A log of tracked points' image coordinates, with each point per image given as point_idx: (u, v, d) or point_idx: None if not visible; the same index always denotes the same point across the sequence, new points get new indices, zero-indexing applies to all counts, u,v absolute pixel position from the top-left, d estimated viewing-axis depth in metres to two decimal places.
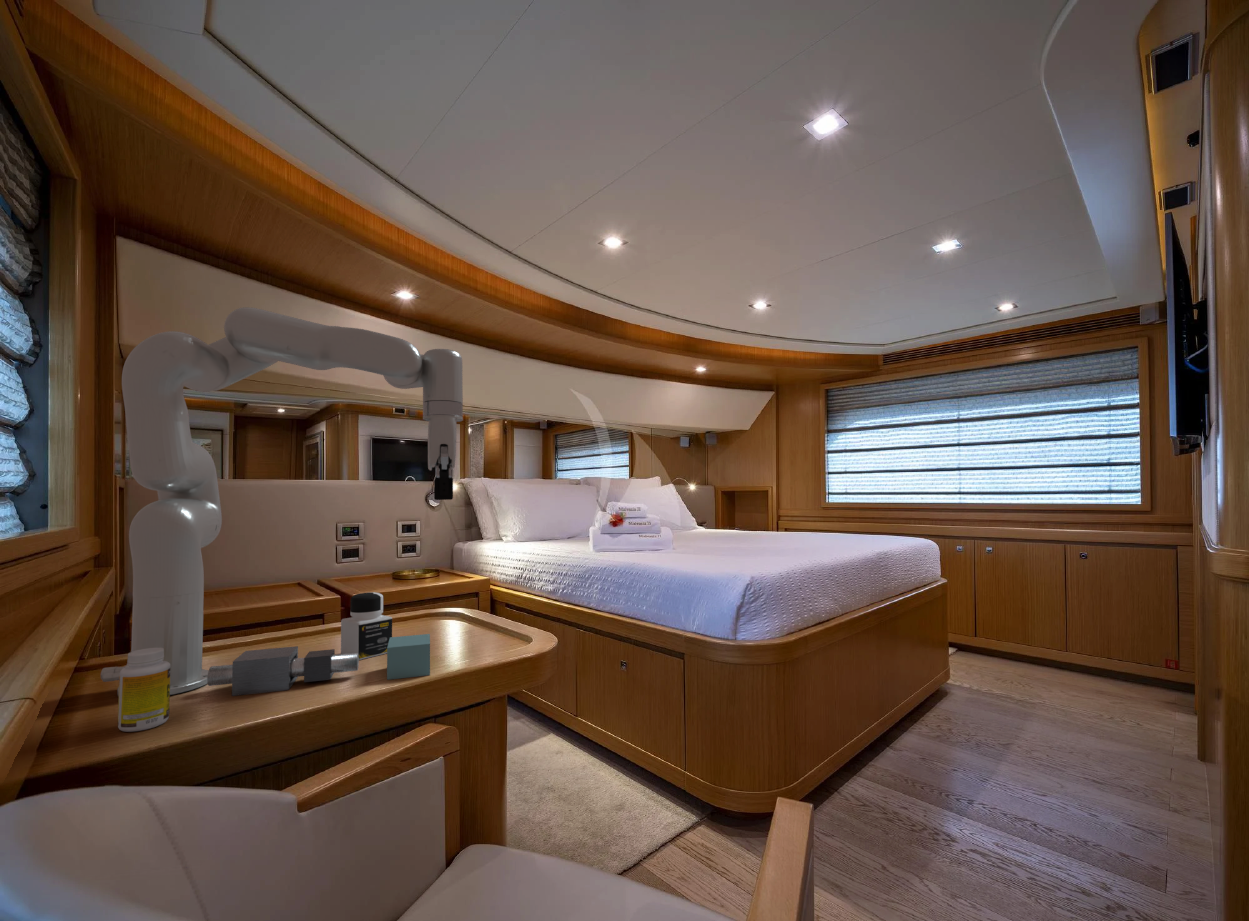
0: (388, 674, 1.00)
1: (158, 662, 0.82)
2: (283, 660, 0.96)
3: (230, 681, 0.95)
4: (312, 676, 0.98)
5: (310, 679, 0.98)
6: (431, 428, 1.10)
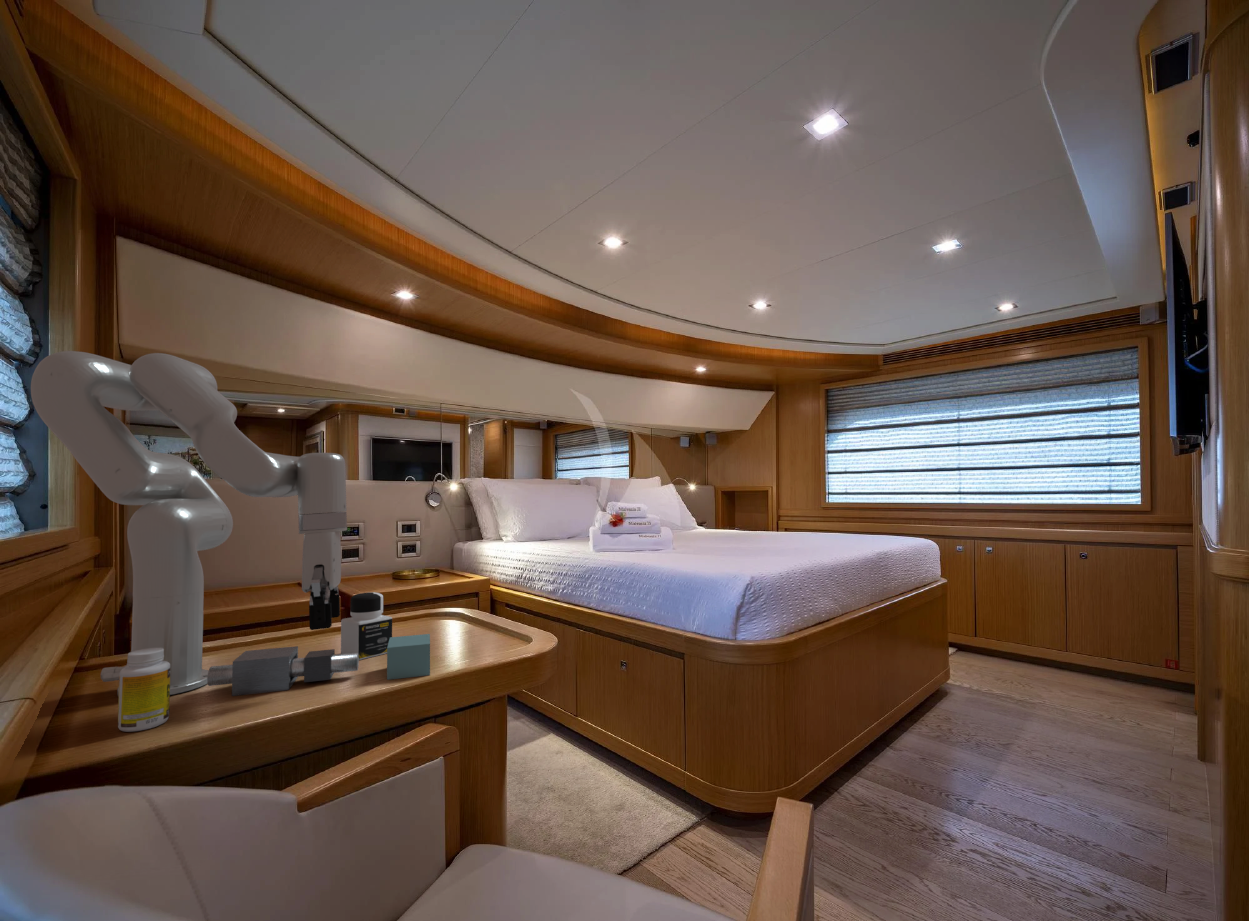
0: (388, 674, 1.00)
1: (158, 661, 0.82)
2: (283, 660, 0.96)
3: (230, 681, 0.95)
4: (312, 676, 0.98)
5: (310, 679, 0.98)
6: (304, 547, 0.97)
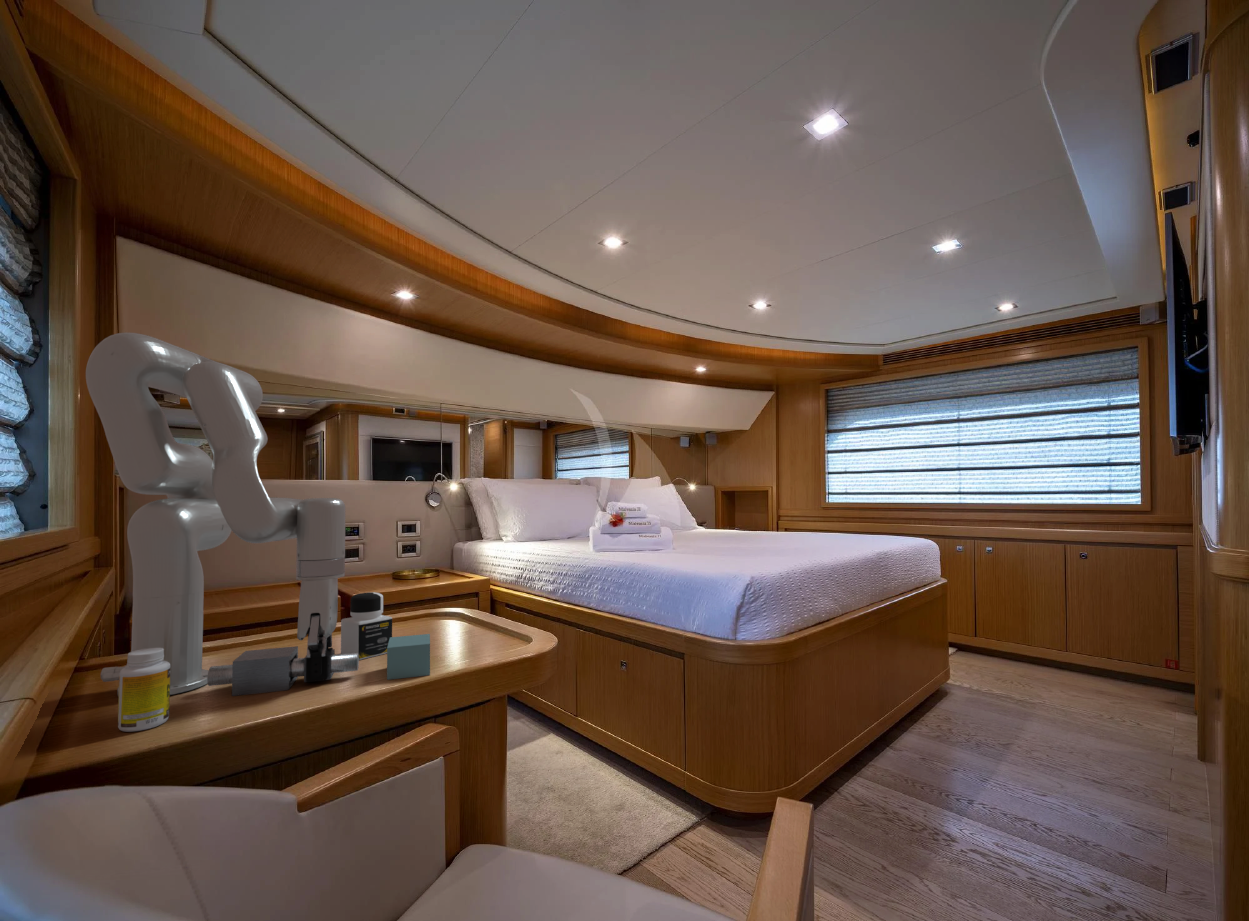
0: (388, 674, 1.00)
1: (158, 661, 0.82)
2: (283, 660, 0.96)
3: (230, 681, 0.95)
4: None
5: None
6: (301, 595, 0.96)
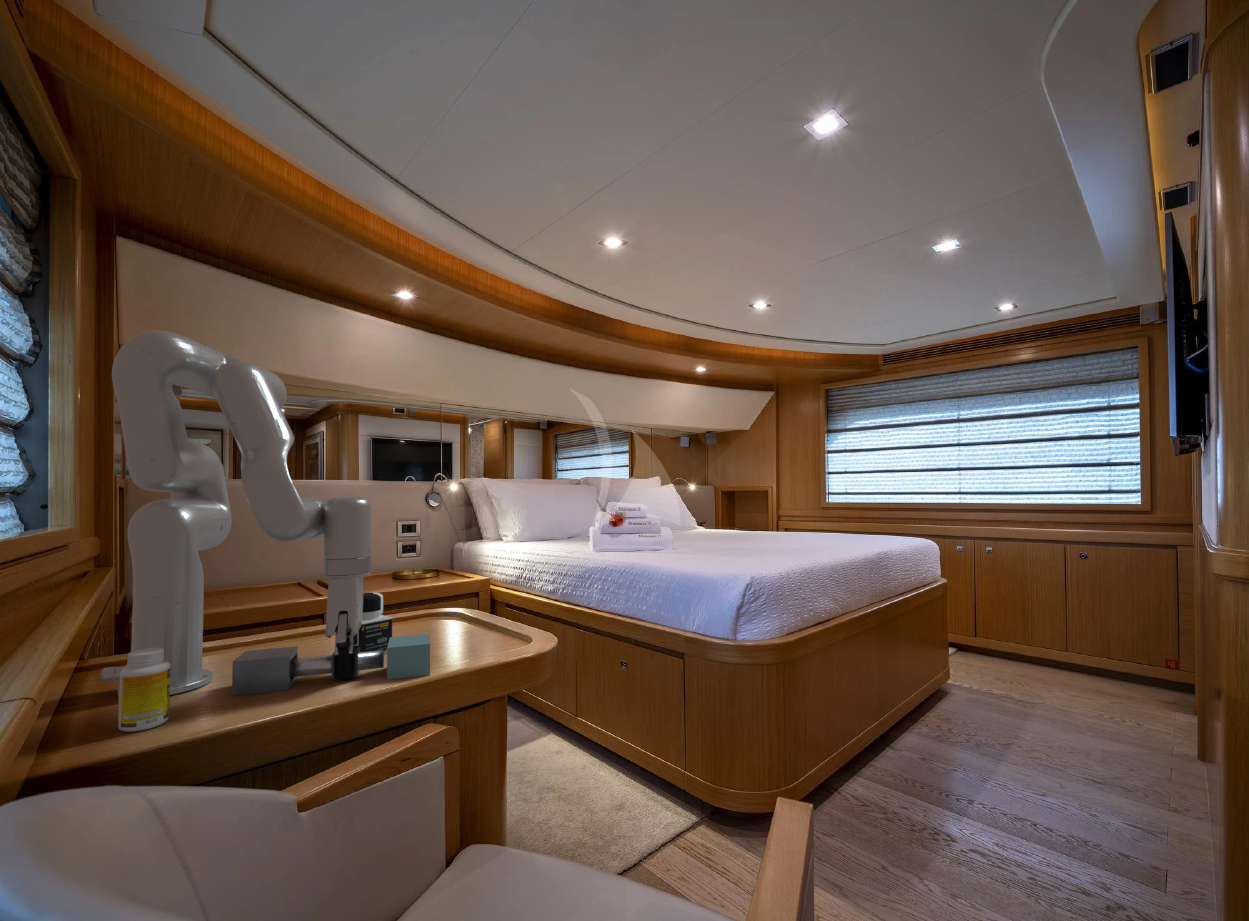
0: (388, 674, 1.00)
1: (158, 662, 0.82)
2: (283, 660, 0.96)
3: None
4: None
5: None
6: (329, 593, 0.97)
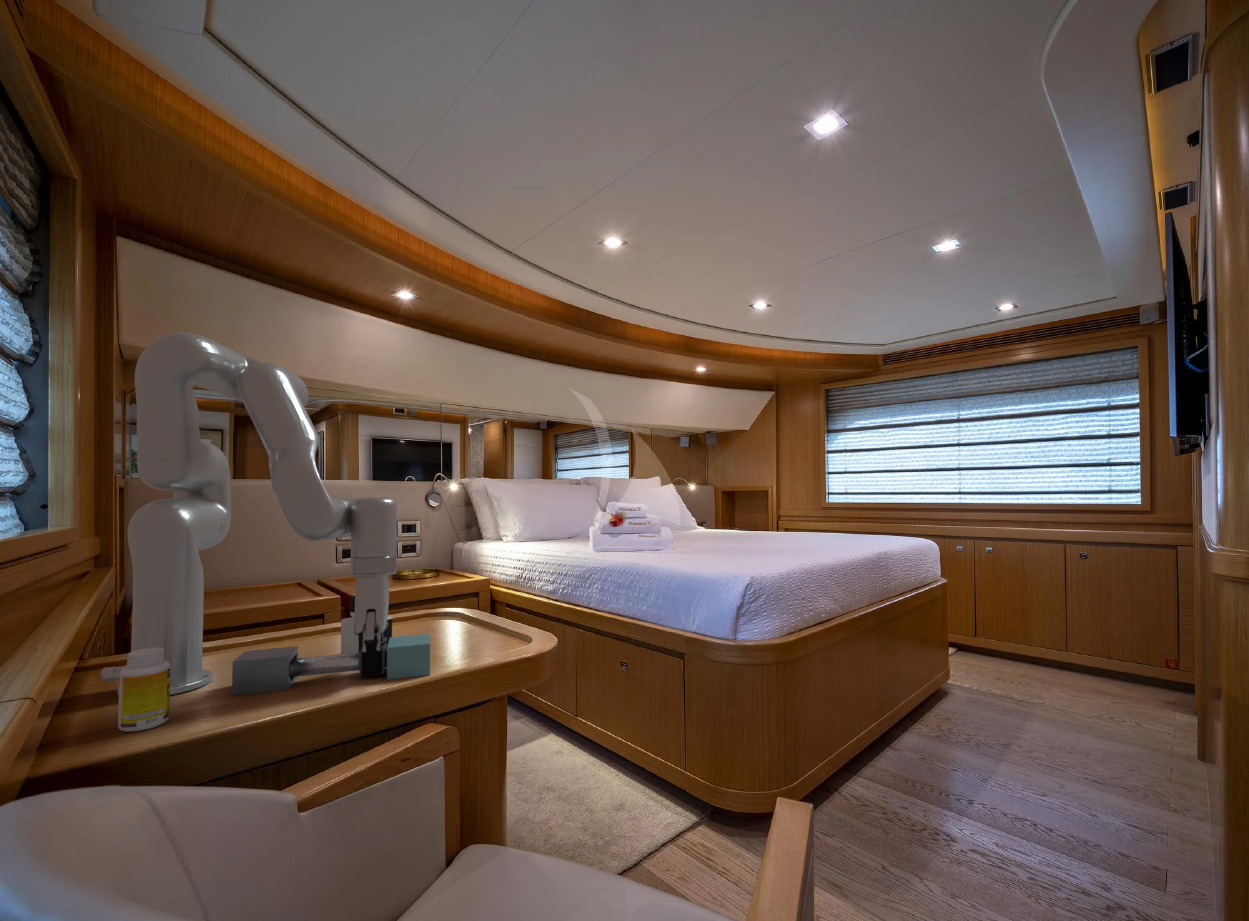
0: (388, 674, 1.00)
1: (158, 662, 0.82)
2: (283, 660, 0.96)
3: None
4: None
5: None
6: (357, 591, 0.99)
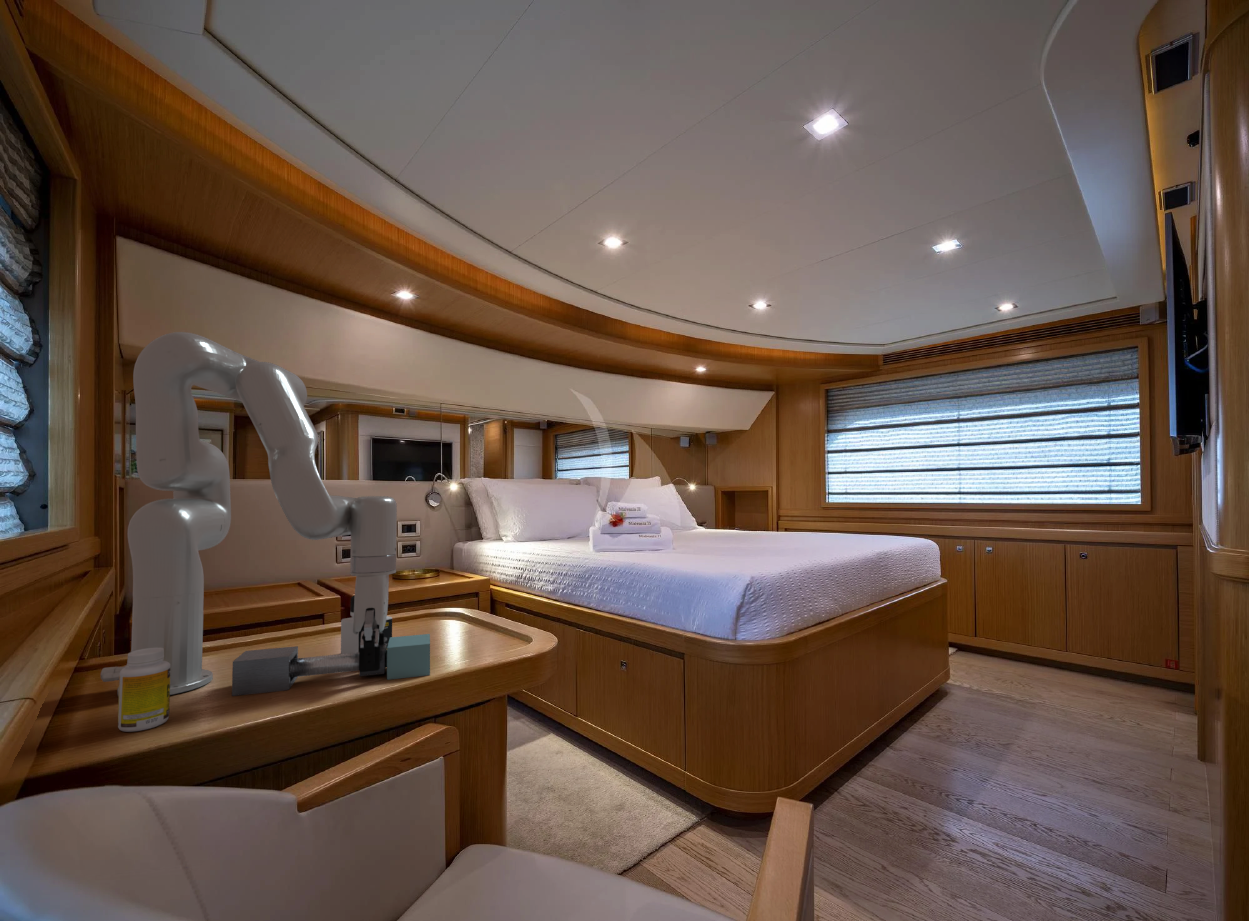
0: (388, 674, 1.00)
1: (158, 662, 0.82)
2: (283, 660, 0.96)
3: None
4: None
5: (366, 673, 1.01)
6: (356, 590, 0.99)
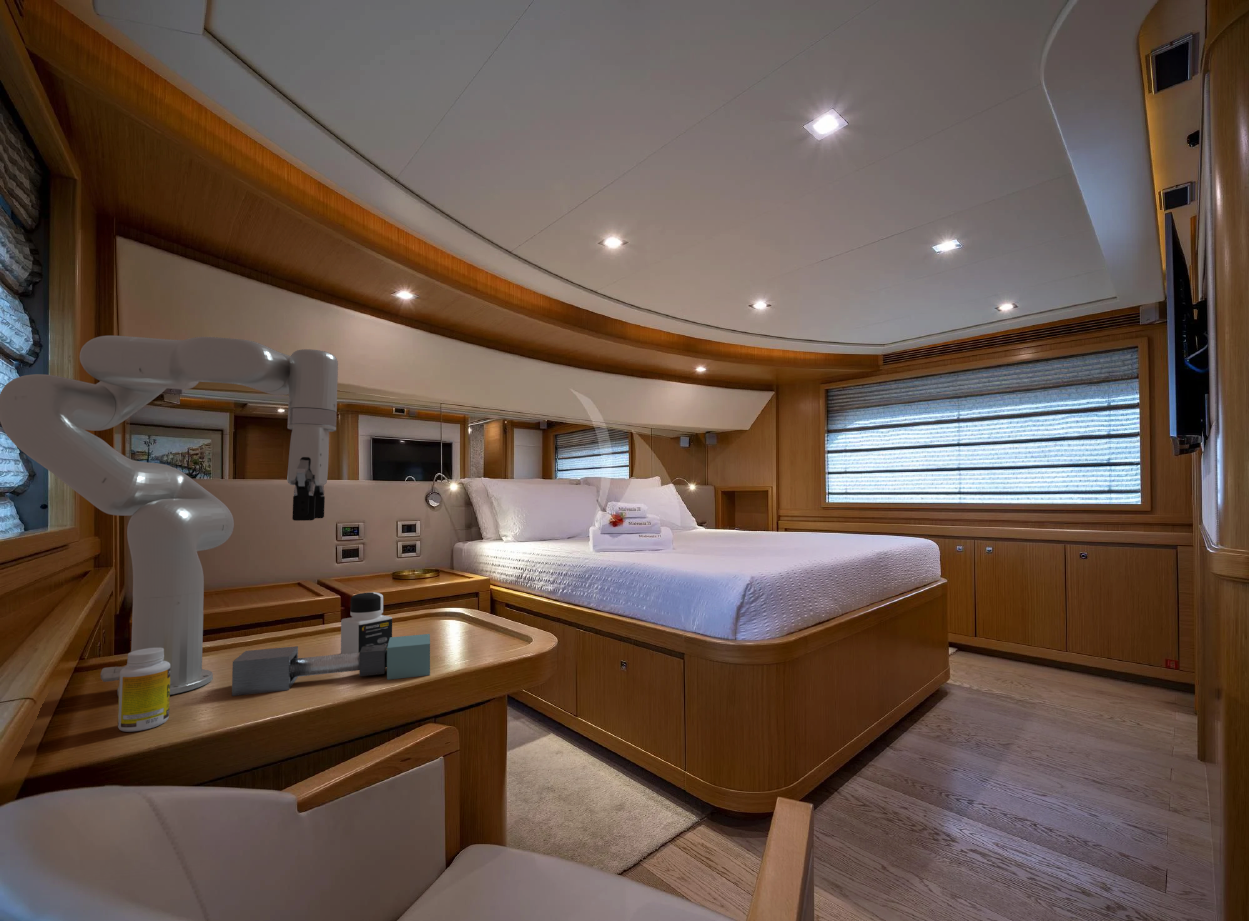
0: (388, 674, 1.00)
1: (158, 662, 0.82)
2: (283, 660, 0.96)
3: None
4: (367, 670, 1.01)
5: (366, 673, 1.01)
6: (292, 439, 0.97)
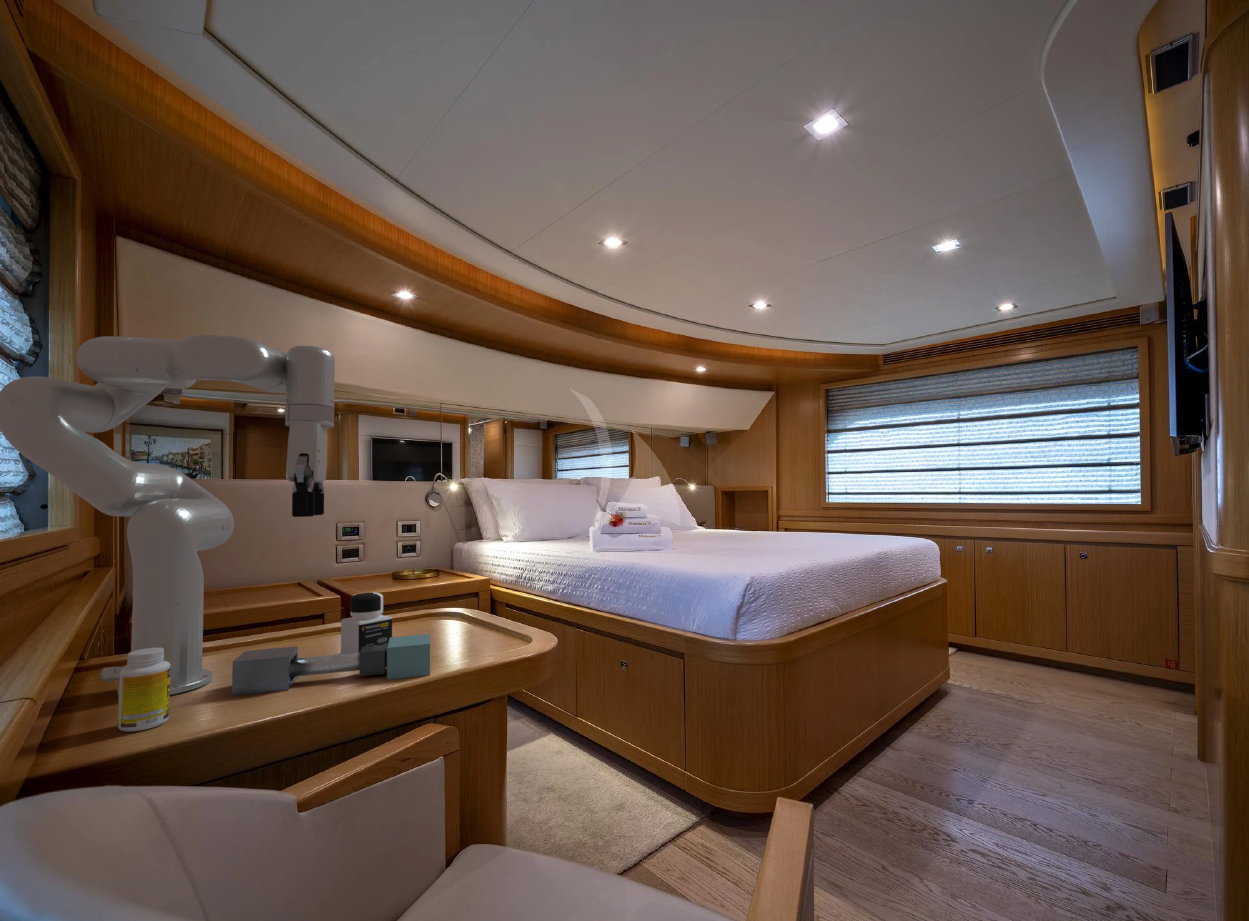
0: (388, 674, 1.00)
1: (158, 662, 0.82)
2: (283, 660, 0.96)
3: None
4: (367, 670, 1.01)
5: (366, 673, 1.01)
6: (289, 435, 0.97)
